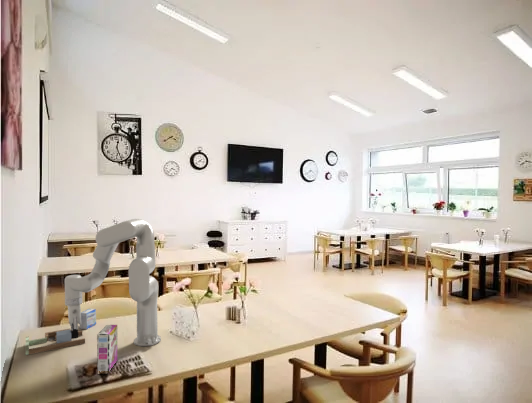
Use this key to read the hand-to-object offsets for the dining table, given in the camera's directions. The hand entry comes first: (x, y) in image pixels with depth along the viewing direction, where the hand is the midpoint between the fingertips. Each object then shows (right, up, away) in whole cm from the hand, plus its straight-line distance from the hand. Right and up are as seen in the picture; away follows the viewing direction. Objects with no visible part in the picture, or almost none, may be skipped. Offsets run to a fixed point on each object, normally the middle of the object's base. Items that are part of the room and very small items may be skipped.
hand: (74, 337), depth 185 cm
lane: (-8, -1, -2) cm, 9 cm away
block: (-4, -2, -2) cm, 5 cm away
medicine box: (-2, -1, +19) cm, 19 cm away
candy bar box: (+28, -3, -28) cm, 40 cm away
